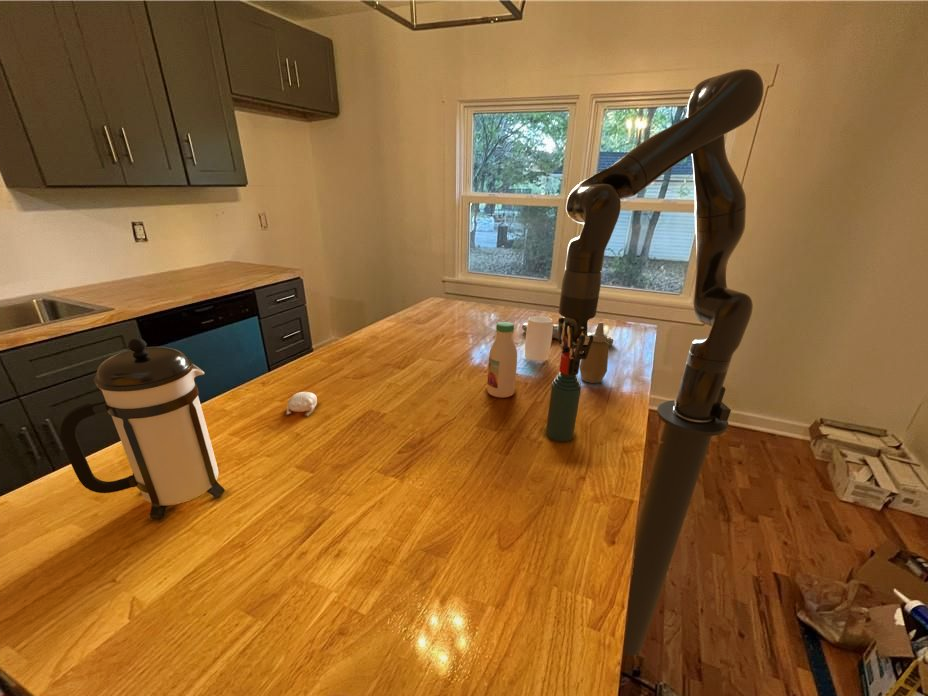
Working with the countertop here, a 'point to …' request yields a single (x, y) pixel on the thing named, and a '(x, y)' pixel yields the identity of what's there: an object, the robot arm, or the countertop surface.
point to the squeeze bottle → (596, 357)
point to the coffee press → (151, 427)
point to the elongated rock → (555, 333)
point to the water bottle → (563, 407)
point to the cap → (564, 362)
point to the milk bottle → (502, 362)
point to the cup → (538, 338)
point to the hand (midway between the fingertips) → (568, 369)
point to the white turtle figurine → (302, 402)
